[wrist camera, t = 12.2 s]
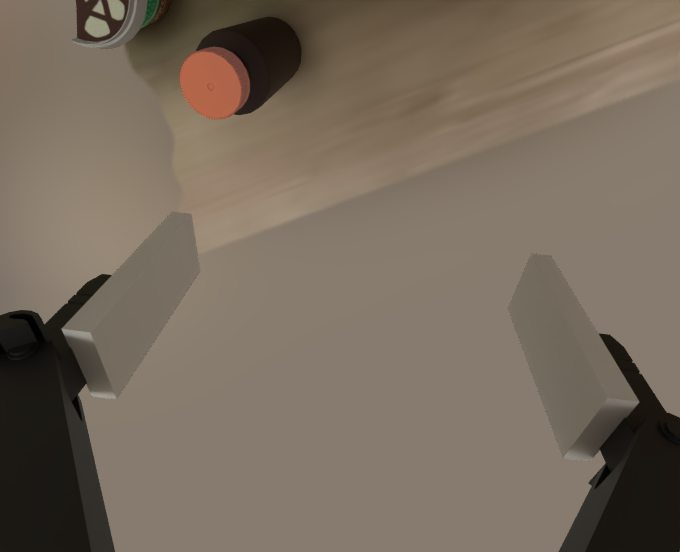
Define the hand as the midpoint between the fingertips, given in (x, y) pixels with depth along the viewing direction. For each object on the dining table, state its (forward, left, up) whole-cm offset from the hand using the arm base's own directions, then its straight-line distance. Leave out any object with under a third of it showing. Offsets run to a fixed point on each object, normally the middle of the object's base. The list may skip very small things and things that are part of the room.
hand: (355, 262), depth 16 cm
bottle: (-1, -12, -39) cm, 41 cm away
